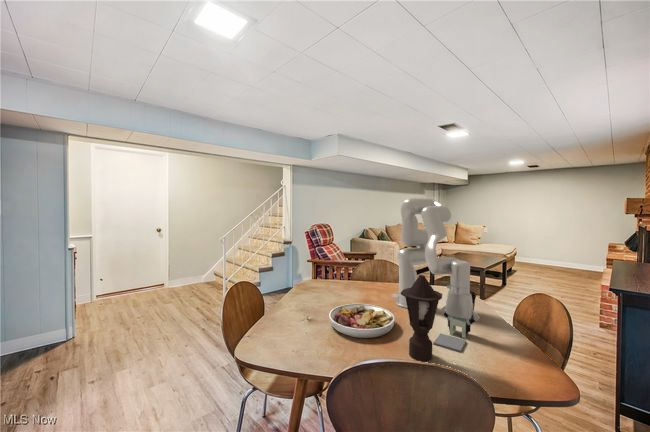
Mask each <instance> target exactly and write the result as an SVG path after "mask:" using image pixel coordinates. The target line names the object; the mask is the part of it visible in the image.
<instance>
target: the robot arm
mask: <svg viewBox="0 0 650 432" xmlns="http://www.w3.org/2000/svg"><path fill="white" fill-rule="evenodd" d="M400 215H401V232H400V233H401V234H400V235H401V237H400V238H401V239H400V240H401V244H402V245H403V246H406V248H402V249H399V250H398V252H397V256H396V257H397V262H398V293H397V294H396V293H392V296H391V297H392V299H395V304H396V305H397V306H398V307H401V308H405V309H408V308H407V302H406V297H404V296H403V295H401V292H402V290H404V289H407V288H411V287H412V285H413V284H414V282H415V281H416V280H417V278H418V274H417V270H416V268H414V266H417V265H418V266H419V265H425V264H427V267H428V270H429V271H430V272H431V274H433V275H436V276H443V275H450V278H449V279H450V284H446V288H447V289H449V290H448V291H447V295H446V301H445V302H446V303H445V305H444V306H443V307H441V308H440V310H439V311H440V312H441V313H442V314H443V316H444V317H445V318H446V320H447V328H448V330H449V331H450V318H451V317H452V316H455V317H459V318H464V319H466V322H467V324H466V335H468V334H469V333H471V327H472V324H474V323H475V322H477V321H479V320H480V319H481V318H480V316H479V315H478V313H477V312H476V311H475V309H474V310H473V303H472V296H471V294H470V291H471V290H470V289H471V287H470V285H471V264H470V262H468V261H465V260H461V259H459V258H456V257H453V256H447V257H438V253H437V244H438V243H439V242H440V241H442V240H444V239H445V238H447V236H448V233H447V230H446V227H445V224H444V223H447V222H449V221H450V220H451V219H452V212H451V210H450V208H449V206H446V205H445V204H443V203H441V202H439V201H437V200H435V199H433V198H421V197H420V198H418V197H417V198H416V197H415V198H414V197H413V198H408V199H405V200H404V201H403V202H402V204H401V207H400ZM416 215H421V219H422V222H423V225H424V228H419V221H418V218H417V216H416ZM414 246H416V247H414ZM472 315H473V319H470V318H471V317H472Z"/></svg>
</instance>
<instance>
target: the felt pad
mask: <svg viewBox="0 0 650 432" xmlns="http://www.w3.org/2000/svg"><path fill="white" fill-rule="evenodd" d="M466 343H467V340H466V339H464V338H460V337H455V336H453V335H448V334H444V333H439V334H438V336H437V338H435V339H434V341H432V345H434V346H438V347H440V348H445V349H448V350H451V351H454V352H458V353H462V351H463V348H464V347H465V345H466Z"/></svg>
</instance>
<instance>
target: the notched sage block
mask: <svg viewBox="0 0 650 432" xmlns="http://www.w3.org/2000/svg"><path fill="white" fill-rule="evenodd" d="M466 324H467V322H466V319H464V318H459V317H455V316H452V317H451V318H450V330H449V336H453V335H454V332H456V331H457V327H459V328H461V339H463V340H466V337H467V336H466V335H467V334H466Z"/></svg>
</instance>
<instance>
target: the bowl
mask: <svg viewBox="0 0 650 432" xmlns="http://www.w3.org/2000/svg"><path fill="white" fill-rule="evenodd" d="M328 319H329V323H330V325H331V326H332V327H333V329H335V330H336V331H338V332H339V333H341V334H343V335H346V336H348V337H353V338H360V339H368V338H369V339H371V338H372V339H373V338H377V337H381V336H384V335H386V334H387V333H389V332H390V331H391V330H392V329H393V327H394V325H395V315H394V314H393V313H392V312H391V311H389V310H388V309H386V308H384V307H380V306H378V305H373V304H368V303H347V304H342V305H339V306H336V307H334V308H332V309H331V310H330V311H329V314H328Z"/></svg>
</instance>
